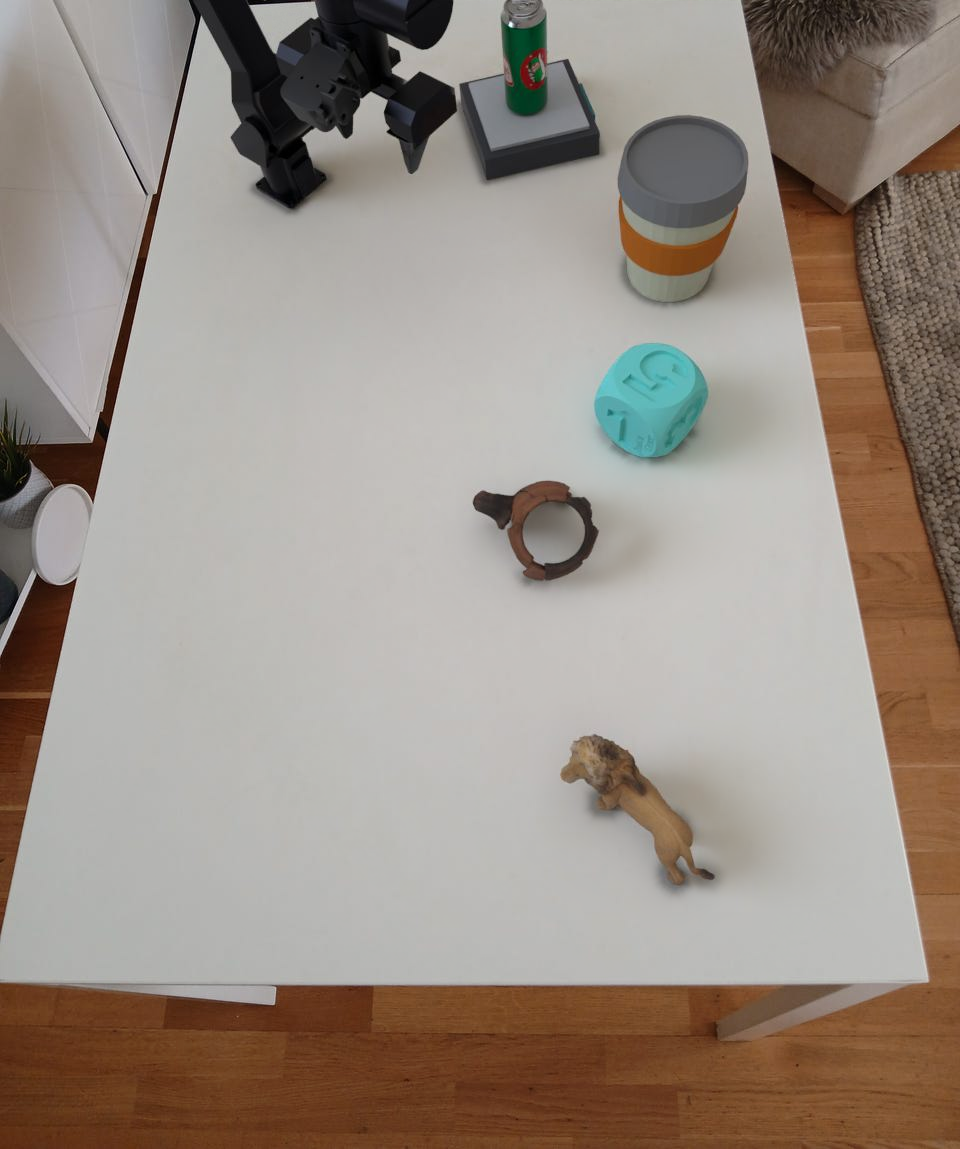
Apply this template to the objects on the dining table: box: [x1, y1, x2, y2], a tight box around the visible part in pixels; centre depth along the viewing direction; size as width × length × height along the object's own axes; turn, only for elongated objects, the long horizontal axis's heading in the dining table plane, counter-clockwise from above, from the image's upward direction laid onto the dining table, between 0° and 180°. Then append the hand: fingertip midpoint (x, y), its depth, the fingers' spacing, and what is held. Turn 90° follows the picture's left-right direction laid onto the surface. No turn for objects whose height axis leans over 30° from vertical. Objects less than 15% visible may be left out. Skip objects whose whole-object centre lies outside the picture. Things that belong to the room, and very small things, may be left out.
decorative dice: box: [593, 342, 709, 458], centre depth 89 cm, size 8×8×8 cm
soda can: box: [500, 0, 548, 116], centre depth 104 cm, size 5×5×12 cm
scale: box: [458, 58, 601, 181], centre depth 111 cm, size 15×14×4 cm
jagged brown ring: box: [472, 480, 600, 582], centre depth 86 cm, size 12×10×8 cm
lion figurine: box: [559, 733, 716, 886], centre depth 72 cm, size 15×5×9 cm, turn 50°
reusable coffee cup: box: [617, 114, 749, 303], centre depth 94 cm, size 13×13×15 cm
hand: (380, 153), depth 94 cm, fingers open, 9 cm apart
